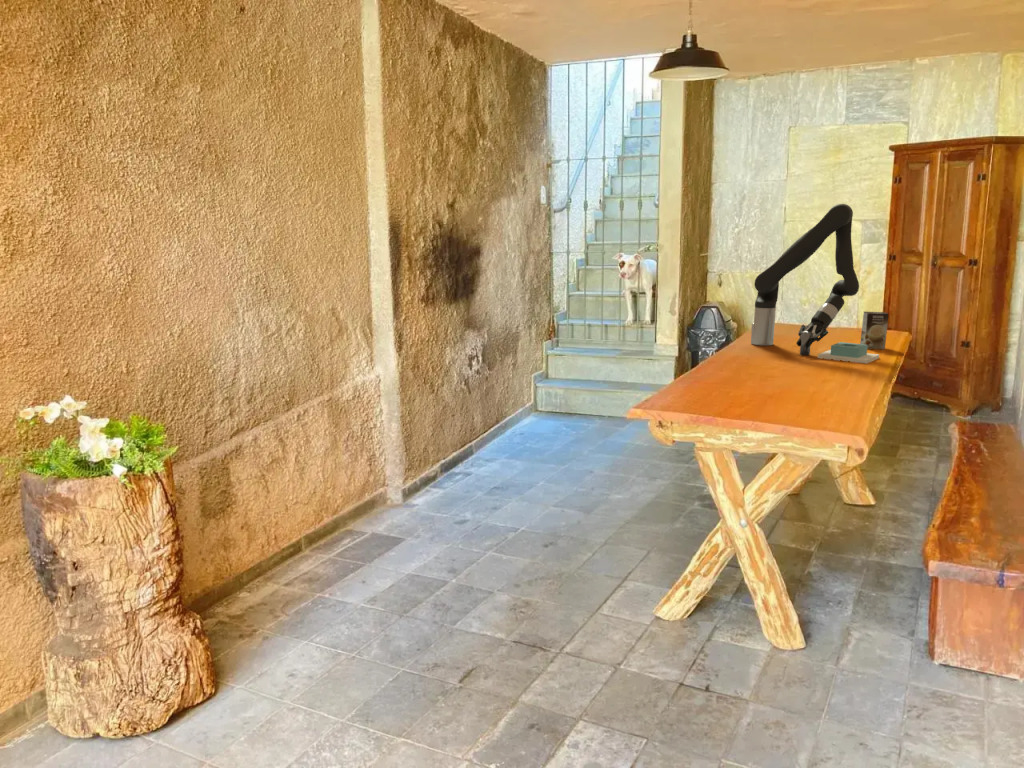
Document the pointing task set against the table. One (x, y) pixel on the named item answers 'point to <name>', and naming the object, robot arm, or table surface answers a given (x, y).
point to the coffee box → (874, 329)
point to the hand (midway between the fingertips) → (802, 345)
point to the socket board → (859, 360)
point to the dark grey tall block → (804, 338)
